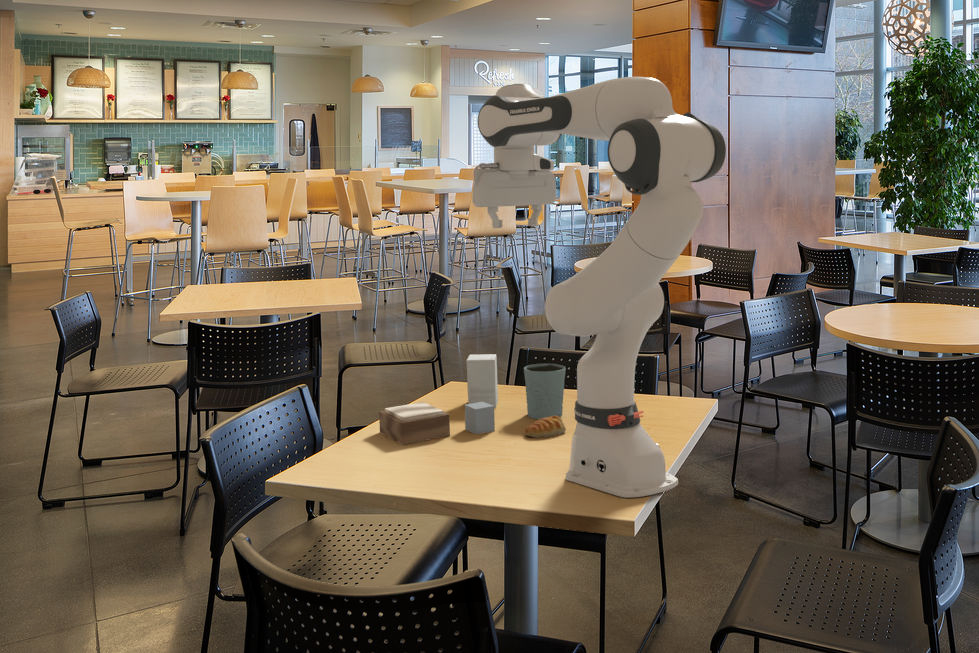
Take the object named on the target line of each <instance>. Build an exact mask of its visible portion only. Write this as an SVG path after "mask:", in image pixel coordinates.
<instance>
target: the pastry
mask: <svg viewBox="0 0 979 653" xmlns="http://www.w3.org/2000/svg"><path fill="white" fill-rule="evenodd" d="M566 431H567V427H566V426H565V423H564V421H563V419H562V418H561V417H559V416H556V415H555V416H549V417H546V418H541V419H535V422H533V423H530V424H529V425H527V426H526V427H525V436H528V437H532V438H535V439H539V438H549V437H555V436H558V435H562V434H565V432H566Z"/></svg>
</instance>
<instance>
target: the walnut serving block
mask: <svg viewBox="0 0 979 653" xmlns="http://www.w3.org/2000/svg"><path fill="white" fill-rule="evenodd" d="M378 418H379V420H378V421H379V433H380V434H382V435H384V436H385V437H387V438H390V439H391V440H393V441H396V442H397V443H399V444H401V445H408V444H413V443H419V442H424V441H430V440H435V439H438V438H445V437H449V436H450V435H451V431H450V430H451V426H450V413H448V412H445V411H444V410H443V409H440V408H438V407H435V406H433V405H432V404H428V403H427V402H424V401H421V402H414V403H409V404H408V403H407V404H404V405H398V406H397V405H396V406H391V407H386V408H384V410H380V411H378Z"/></svg>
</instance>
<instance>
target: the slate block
mask: <svg viewBox="0 0 979 653" xmlns="http://www.w3.org/2000/svg"><path fill="white" fill-rule="evenodd" d="M495 424H496V423H495V407H494V406H493V405H491V404H488V403H485V402H478V403H472V404H464V426H465V427H464V429H465V430H466V431H468V432H470V433H472V434H475V435H480V434H486V433H491V432H495V429H496V427H495Z"/></svg>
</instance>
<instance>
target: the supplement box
mask: <svg viewBox="0 0 979 653" xmlns="http://www.w3.org/2000/svg"><path fill="white" fill-rule="evenodd" d="M497 360H498V358H497V354H495V353H494V354H493V353H492V354H491V353H489V354H487V353H486V354H485V353H484V354H483V353H482V354H469V355H468V357H467V359H466V363H465V364H466V379H467V380H466V381H467V382H466V383H467V386H466V387H467V402H468V404H472V403H478V402H485V403H488V404H491V405H493V406H494V408H497V405H498V401H499V395H498V392H499V391H498V390H499V389H498V387H499V386H498V366H497V365H498V363H497V362H498V361H497Z"/></svg>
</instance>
